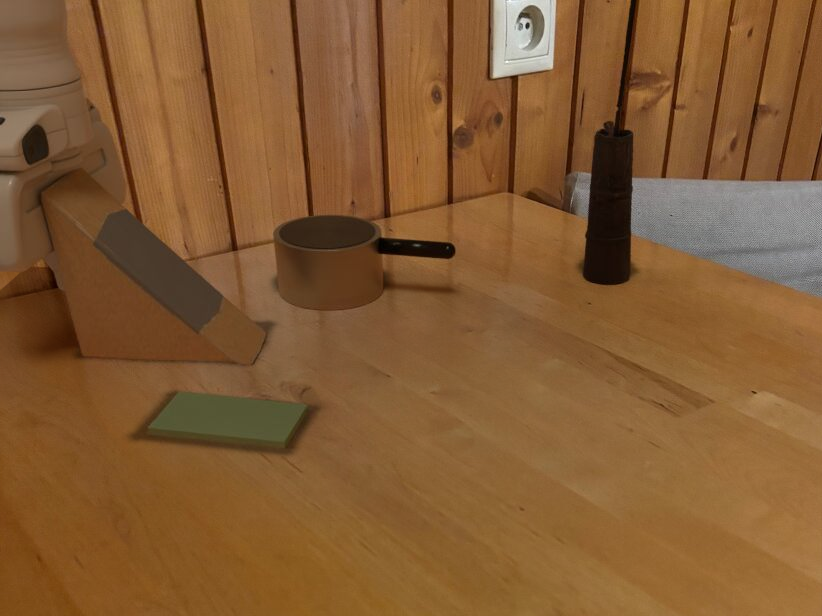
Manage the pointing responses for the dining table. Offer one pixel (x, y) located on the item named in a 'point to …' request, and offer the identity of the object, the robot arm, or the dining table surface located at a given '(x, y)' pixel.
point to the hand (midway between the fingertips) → (75, 285)
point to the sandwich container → (136, 285)
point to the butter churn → (611, 194)
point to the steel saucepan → (339, 260)
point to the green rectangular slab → (229, 419)
